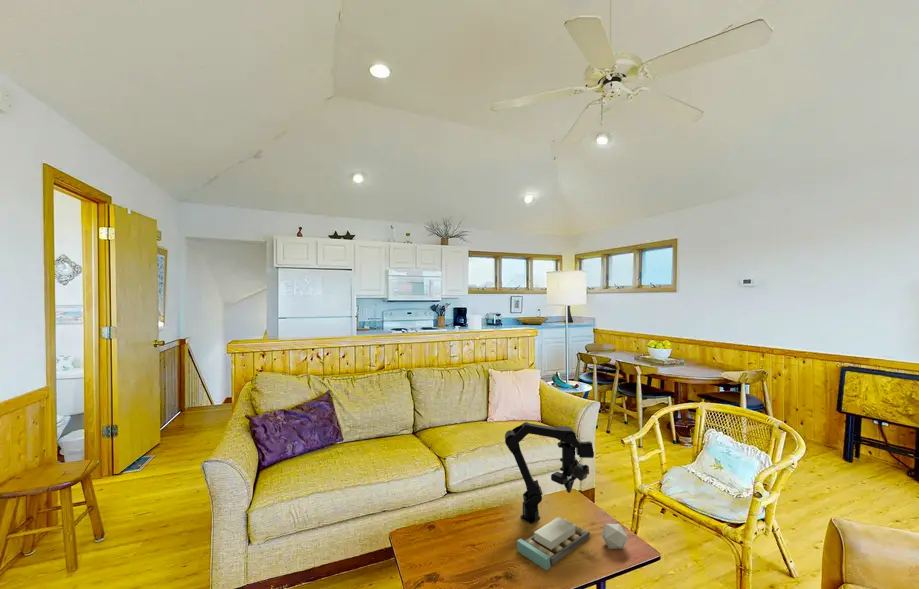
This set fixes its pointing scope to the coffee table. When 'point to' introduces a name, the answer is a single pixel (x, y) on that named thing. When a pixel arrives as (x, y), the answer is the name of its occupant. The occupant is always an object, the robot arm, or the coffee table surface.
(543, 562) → the stop bar
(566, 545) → the roller bed
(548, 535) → the slab
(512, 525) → the coffee table surface
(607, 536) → the die
